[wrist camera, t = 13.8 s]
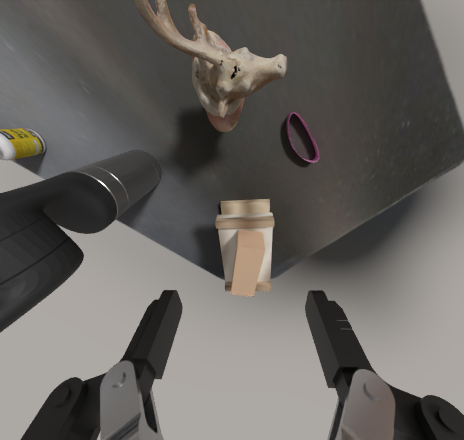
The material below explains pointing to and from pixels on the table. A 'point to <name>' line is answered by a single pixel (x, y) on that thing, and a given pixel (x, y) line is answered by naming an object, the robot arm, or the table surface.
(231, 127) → the decorative bust
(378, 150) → the table surface
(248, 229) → the display stand
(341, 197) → the table surface
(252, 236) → the tan block
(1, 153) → the supplement bottle
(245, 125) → the table surface
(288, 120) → the headband
